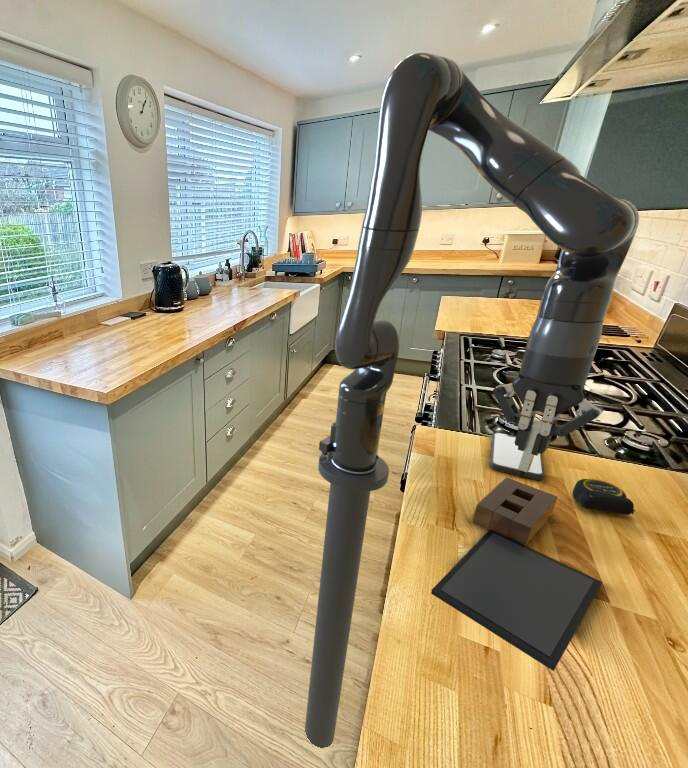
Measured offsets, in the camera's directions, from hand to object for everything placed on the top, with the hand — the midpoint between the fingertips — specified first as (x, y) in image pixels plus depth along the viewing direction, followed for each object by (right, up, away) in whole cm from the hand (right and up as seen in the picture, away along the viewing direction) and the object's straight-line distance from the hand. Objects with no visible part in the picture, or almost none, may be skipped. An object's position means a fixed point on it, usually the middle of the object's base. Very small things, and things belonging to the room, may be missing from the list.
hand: (528, 450), depth 67 cm
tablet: (-8, -19, -7) cm, 22 cm away
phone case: (+18, -6, +24) cm, 31 cm away
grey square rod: (0, -5, +2) cm, 5 cm away
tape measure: (+20, -12, +8) cm, 25 cm away
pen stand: (+3, -13, +7) cm, 15 cm away
